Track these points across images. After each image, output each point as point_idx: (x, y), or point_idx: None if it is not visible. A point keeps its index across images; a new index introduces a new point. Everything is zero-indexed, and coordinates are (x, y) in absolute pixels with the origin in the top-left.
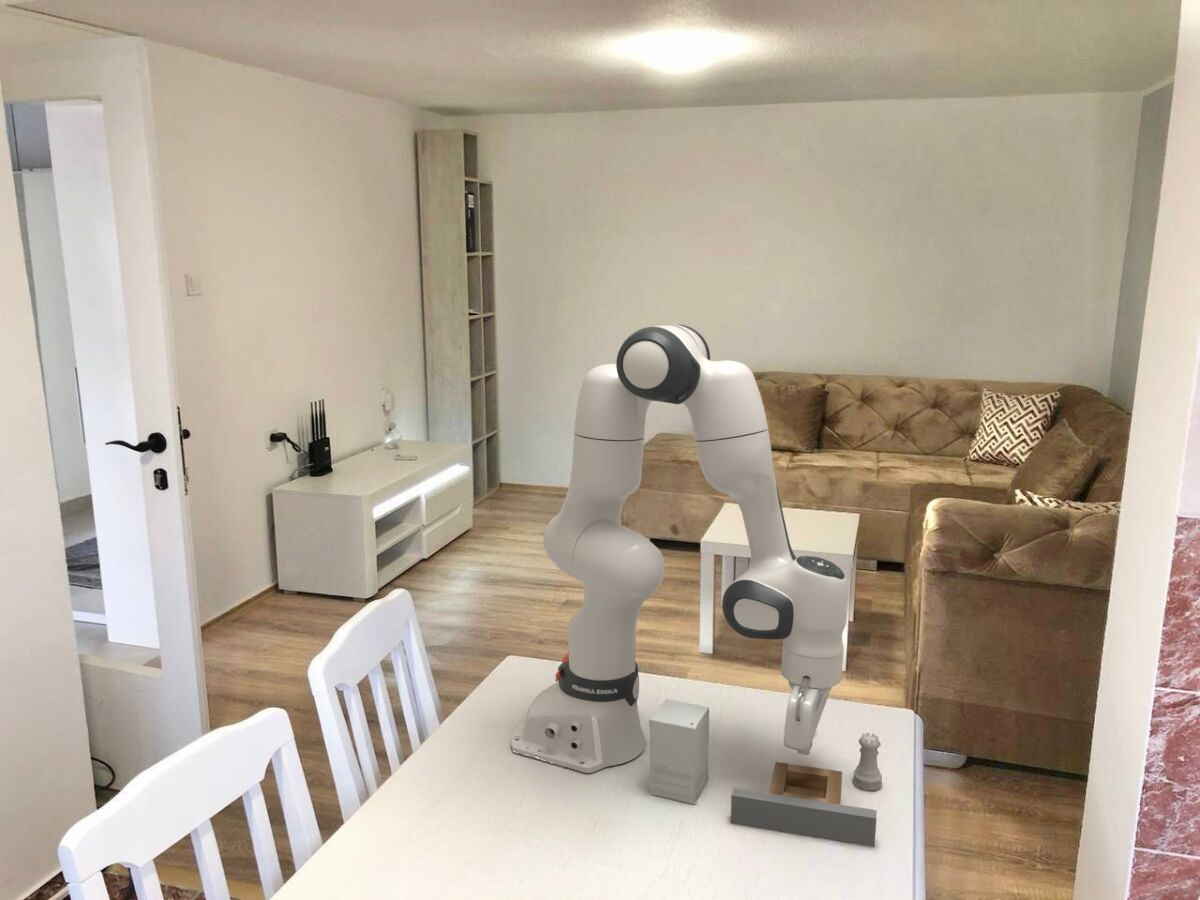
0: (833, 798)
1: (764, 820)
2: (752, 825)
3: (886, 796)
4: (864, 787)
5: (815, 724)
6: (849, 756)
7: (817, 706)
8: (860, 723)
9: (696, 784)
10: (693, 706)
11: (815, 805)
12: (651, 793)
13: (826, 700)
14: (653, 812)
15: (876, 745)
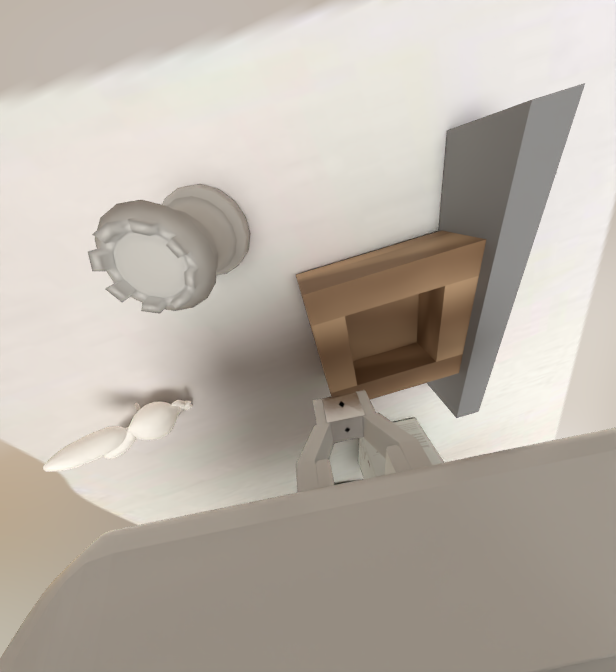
0: (441, 269)
1: None
2: None
3: (233, 155)
4: (246, 229)
5: (549, 520)
6: (124, 311)
7: (551, 667)
8: None
9: (423, 441)
10: None
11: (504, 293)
12: None
13: (149, 546)
14: (437, 433)
15: (170, 217)
